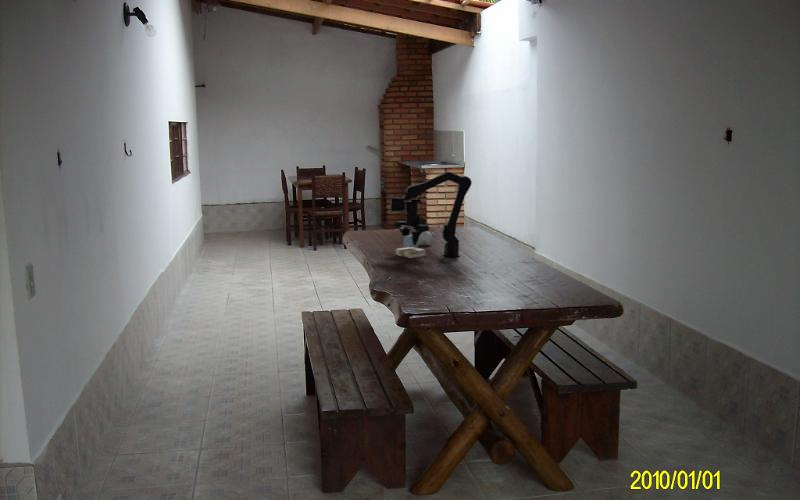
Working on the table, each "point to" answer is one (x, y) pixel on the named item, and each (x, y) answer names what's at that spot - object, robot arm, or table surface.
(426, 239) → the die
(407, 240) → the slate block
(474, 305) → the table surface
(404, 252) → the maple base
